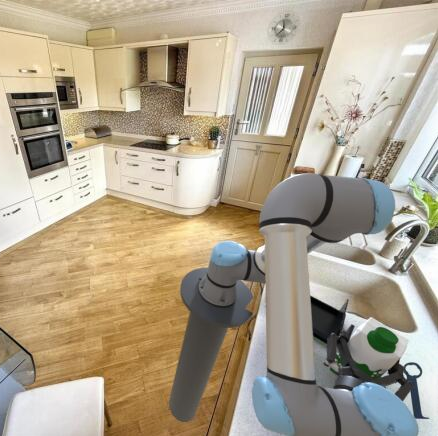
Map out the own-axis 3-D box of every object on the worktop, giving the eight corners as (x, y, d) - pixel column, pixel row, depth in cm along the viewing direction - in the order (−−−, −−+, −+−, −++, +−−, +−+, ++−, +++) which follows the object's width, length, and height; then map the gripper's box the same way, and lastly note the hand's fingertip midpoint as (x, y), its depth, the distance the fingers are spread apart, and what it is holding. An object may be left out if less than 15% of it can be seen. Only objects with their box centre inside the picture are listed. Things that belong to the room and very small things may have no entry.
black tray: (276, 317, 87) (287, 296, 81) (289, 294, 97) (299, 274, 91) (333, 351, 76) (350, 330, 71) (340, 321, 87) (356, 301, 81)
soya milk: (324, 368, 66) (361, 324, 56) (337, 351, 71) (373, 308, 61) (360, 399, 60) (410, 355, 50) (372, 378, 65) (419, 335, 55)
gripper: (293, 371, 58) (321, 321, 71) (411, 465, 45) (418, 382, 58) (305, 354, 54) (332, 305, 68) (439, 451, 41) (439, 365, 54)
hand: (372, 340), depth 63 cm, fingers closed on soya milk, 9 cm apart
